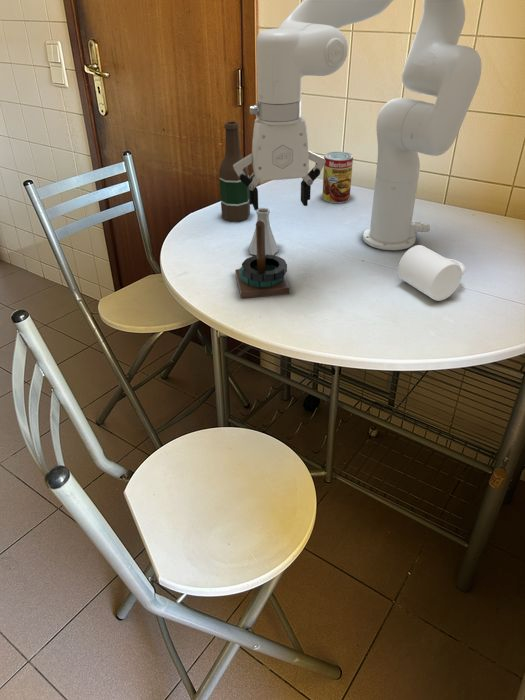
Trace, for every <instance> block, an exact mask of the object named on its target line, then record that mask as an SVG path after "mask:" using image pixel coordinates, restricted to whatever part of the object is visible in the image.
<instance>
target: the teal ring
mask: <svg viewBox="0 0 525 700" xmlns="http://www.w3.org/2000/svg"><path fill="white" fill-rule="evenodd" d="M276 268H277V267H275V266H273V265H267V264H266V270H269V271H272V270H274V269H276ZM238 269H239V276H240V280H241V281H242V282H243V283H245V284H246V285H249V286H253V287H270V286H273V285H276V284H278V283H280V282H281V280H282V279H283V277H284V276H283V277H282V278H280V279H278V280H276V281H275V280H274V281H269V282H258V281H252V280H250V279H248V278H246V277H245V276H244V275H243V272H242V266H240V268H238ZM252 269H254V270H257V266H255V267H252Z"/></svg>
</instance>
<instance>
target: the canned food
mask: <svg viewBox="0 0 525 700" xmlns="http://www.w3.org/2000/svg"><path fill="white" fill-rule="evenodd" d="M323 158H324V159H325V160H326V163H325V165H324V167H323V175H322V176H323V177H322V178H323V179H322V195H321V197H322V200H323V201H325V202H327V203H332V204H342V203H346V202H348V201H350V199H351V187H352V175H353V165H354V164H353V163H354V155H353V154H352V153H350V152H346V151H329V152H327V153H325V154H324V156H323Z"/></svg>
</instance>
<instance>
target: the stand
mask: <svg viewBox="0 0 525 700" xmlns="http://www.w3.org/2000/svg"><path fill="white" fill-rule="evenodd" d="M255 228H256V250H257V270H256V271H263V272H264V271H269V270H266V262H265V223H264V222H263V221H262V220H259V221H257V220H256V222H255ZM239 269H240V268H237V269H235V271H234V272H235V278H236V282H237V287H238V291H239V295H240V299H249V298H257V297H258V298H259V297H269V296H279V295H289V294H290V286H289V283H288V281H287V278H286V275H285V276H284V277H283V279H282V280H281V282H280V283H278V284H276V285H273V286H270V287H253V286H249V285H246V284H245V283H243V282H242V281H241V280H240V276H239Z"/></svg>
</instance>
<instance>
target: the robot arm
mask: <svg viewBox="0 0 525 700" xmlns="http://www.w3.org/2000/svg"><path fill="white" fill-rule="evenodd" d="M392 2H394V0H302V1H301V2H300V3H299V4H297V6H296V7H295V8H294V9H293V10H292V11H291V13H289V15H288V16H286V18H285V19H284V20H283V22H282V23H281V24H280V26H279V27H278V28H277V27H276V28H268V29H263V30H262V31H260V32H259V33H258V35H257V36H256V41H255V43H256V46H255V49H256V78H257V79H256V80H257V81H256V82H257V83H256V85H257V100H256V103H255V104H254V105H250V106H249V114H250V115H255V116H257V118H255V119H254V124H253V129H252V143H251V144H252V145H251V153H250V154H248V155H246V156H245V157H243V159H241V160H240V161H238V162H237V163H235V164H234V165H233V168H234V170H235V172H236V174H237V175H238V177H239V179H240V180H241V181H242V182H243V183H244V184H245V185H246V186H247V187H248V188H249V202H250V206H251V205H252V208H253V209H254V211H256V210H257V209H258V208H259V191H258V187H257V186H258V185H259V183H260V182H262V181H263V182H266V181H280V180H281V181H282V180H294V179H300V178H301V179H302V180H301V181H300V203H302V206H304V207H308V204H309V203H308V201H310V200H311V189H312V185H313V183H314V181H315V180H316V179H317V178H318V177H319V176H320V175H321V172H322V170H323V169H324V165H325V163H326V160H325V159H324V156H321V155H319V154H317V153H315V152H312V151H311V150H309V137H308V127H307V121H306V119H305V118H304V117H303V116H302V78H303V77H304V76H308V77H309V76H312V77H314V76H315V77H325V76H330V75H333V74H335V73H336V72H337V71H339V70H340V69H341V68H342V66H343V65H344V64H345V62H346V60H347V57H348V52H349V44H348V40H347V38H346V36H345V34H344V33H343V32H342V31H341V30H340V29H339V28H342V27H344V26H348V25H352V24H357V23H359V22H364V21H366V20H369V19H371V18H374V17H377V16H379V15H380V14H382V13H383V12H385V10H387V8H388V7H389V6H390V5H391V4H392ZM422 2H423V3H422V5H423V6H422V7H423V9H422V15H421V18H420V21H419V24H418V27H417V30H416V32H415V35H414V39H413V41H412V43H411V47H410V49H409V51H408V55H407V57H406V60H405V63H404V66H403V70H402V74H401V82H402V85H403V87H404V88H405V89H406V90H407V91H409V92H410V93H411V92H412V93H415V94H418V95H422V96H426V97H427V96H428V97H433V98H436V100H435V102H434V103H431V102H426V101H423V100H420V99H419V100H418V99H412V98H407V97H396V98H393V99H390V100H388V101H387V102H386V103H385V104H384V105H382V107H381V108H380V110H379V113H378V115H377V118H376V127H375V128H376V141H377V161H376V162H377V163H376V170H375V180H374V189H373V190H374V191H373V198H372V207H371V208H372V209H371V215H370V227H368V228H367V229H366V228H365V230H364V231H363V233H362V240H363V242H364V243H365V244H367V245H368V246H369V247H372V248H375V249H378V250H385V251H401V250H407V249H410V248H412V247H413V246H414V244H415V243H416V239H417V237H416V235H417V234H418V233H429V232H430V231H431V224H430V223H422V222H421V221H420V220H417V221H413V215H414V209H415V202H416V195H417V190H418V184H419V179H420V178H419V177H420V172H421V162H420V161H421V160H420V156H419V154H423V155H427V156H431V157H439V156H442V155H444V154H446V152H448V150H450V148H451V147H452V146H453V144H454V142H455V141H456V139H457V137H458V134H459V132H460V130H461V127H462V125H463V122H464V120H465V118H466V115H467V113H468V111H469V109H470V106H471V104H472V101H473V99H474V97H475V94H476V92H477V89H478V86H479V83H480V81H481V75H482V65H483V64H482V58H481V55H480V53H479V52H478V51H477V50H476V49H474V48H473V47H471V46H467V45H459V44H458V43H459V40H460V37H461V35H462V31H463V29H464V25H465V21H466V6H465V2H464V0H422ZM309 161H312V162H313V163H315V164H314V166H313V168H312V169H310V162H309ZM250 165H251V169H252V173H251V175H249V177H248V176H247V175H246V174H244V172H243V168H245V167H246V166H248V167H249V166H250ZM309 169H310V171H309Z"/></svg>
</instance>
